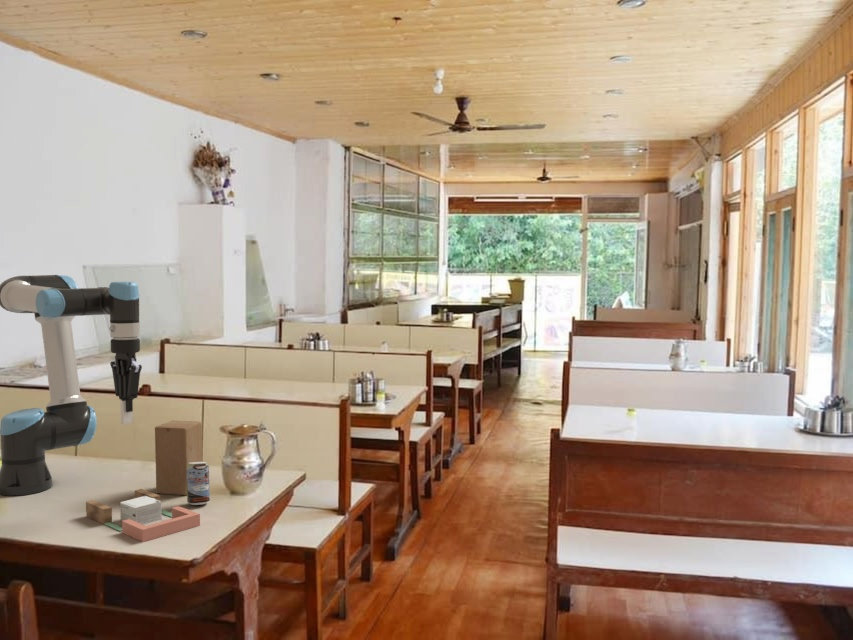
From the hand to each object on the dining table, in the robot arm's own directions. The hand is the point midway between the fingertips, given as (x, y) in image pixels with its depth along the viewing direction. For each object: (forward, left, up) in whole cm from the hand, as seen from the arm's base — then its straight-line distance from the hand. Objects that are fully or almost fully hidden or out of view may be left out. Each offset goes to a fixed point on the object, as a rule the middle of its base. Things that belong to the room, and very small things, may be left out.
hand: (127, 422), depth 218 cm
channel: (+4, -4, -24) cm, 24 cm away
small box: (+12, -3, -24) cm, 27 cm away
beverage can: (+12, +14, -24) cm, 30 cm away
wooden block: (-4, +18, -24) cm, 30 cm away
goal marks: (+13, -4, -24) cm, 27 cm away
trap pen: (+22, -4, -24) cm, 33 cm away
